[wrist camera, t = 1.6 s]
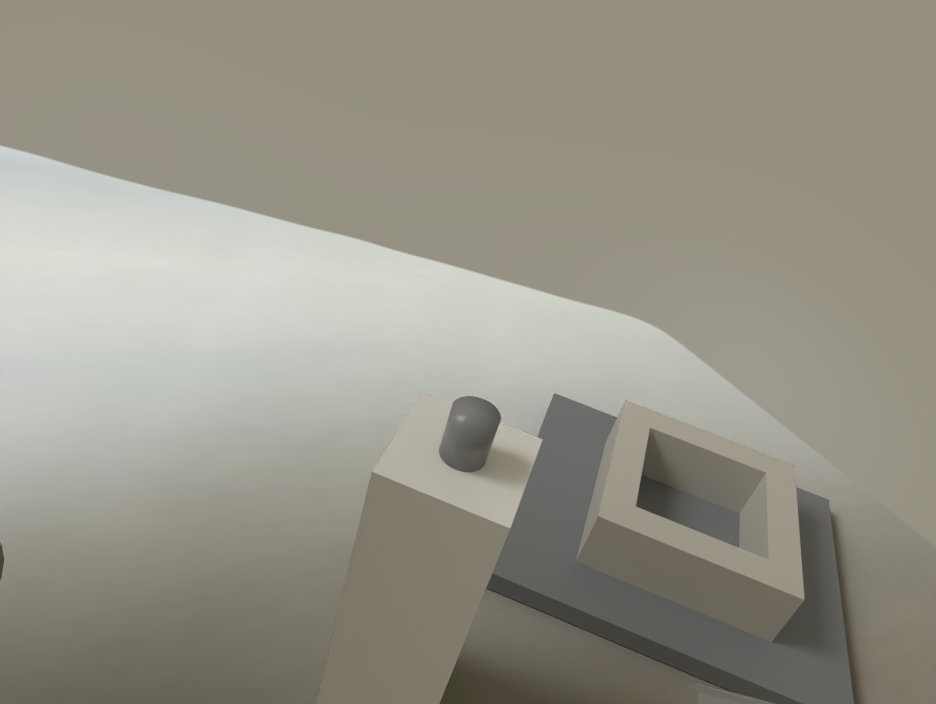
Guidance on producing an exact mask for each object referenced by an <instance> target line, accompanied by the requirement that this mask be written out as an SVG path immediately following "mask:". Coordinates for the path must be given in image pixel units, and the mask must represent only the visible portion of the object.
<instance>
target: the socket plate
mask: <svg viewBox="0 0 936 704" xmlns="http://www.w3.org/2000/svg"><path fill="white" fill-rule="evenodd" d="M538 438H541V439H543V440H542V443H541V446H540V448H539V451H538V454H537V457H536V459H535V462H534V465H533V468H532V470H531V473H530V476H529V479H528V481H527V484H526V487H525V490H524V492H523V495H522V498H521V501H520V503H519V506H518V509H517V512H516V514H515V517H514V520H513V523H512V525H511V528H510V531H509V533H508V535H507V538H506V540H505V543H504V545H503V548H502V550H501V553H500V555H499V558H498V560H497V563H496V565H495V568H494V570H493V573H492V575H491V578H490V580H489V582H488V585H487V587H486V588H488V589H490V590H492V591H495V592H497V593H500V594H502V595H504V596H507V597H509V598H511V599H514V600H516V601H518V602H521V603H523V604H526V605H528V606H530V607H533V608H535V609H537V610H540V611H542V612H544V613H547V614H549V615H552V616H554V617H556V618H559V619H561V620H563V621H566V622H568V623H571V624H573V625H575V626H578V627H580V628H582V629H585V630H587V631H589V632H592V633H594V634H597V635H599V636H601V637H604V638H606V639H608V640H611V641H613V642H615V643H618V644H620V645H623V646H625V647H627V648H630V649H632V650H634V651H637V652H639V653H642V654H644V655H646V656H649V657H651V658H653V659H656V660H658V661H660V662H663V663H665V664H668V665H670V666H672V667H675V668H677V669H679V670H682V671H684V672H687V673H689V674H691V675H694V676H696V677H698V678H701V679H703V680H705V681H708V682H710V683H713V684H715V685H717V686H720V687H722V688H724V689H727V690H729V691H731V692H734V693H737V694H741V695H745V696H748V697H752V698H756V699H760V700H764V701H768V702H772V703H776V704H854V699H853V691H852V683H851V675H850V667H849V659H848V651H847V643H846V635H845V627H844V619H843V611H842V603H841V595H840V587H839V579H838V571H837V563H836V555H835V547H834V539H833V531H832V523H831V515H830V507H829V500H827V499H825V498H822V497H820V496H817V495H815V494H812V493H809V492H807V491H804V490H802V489H799V488H797V487H796V479H795V466H794V465H792V464H790V463H787V462H785V461H782V460H779V459H777V458H774V457H772V456H769V455H766V454H764V453H761V452H759V451H756V450H753V449H751V448H748V447H746V446H743V445H740V444H738V443H735V442H733V441H730V440H728V439H725V438H722V437H720V436H717V435H715V434H712V433H709V432H707V431H704V430H702V429H699V428H696V427H694V426H691V425H689V424H686V423H683V422H681V421H678V420H676V419H673V418H670V417H668V416H665V415H663V414H660V413H658V412H655V411H652V410H650V409H647V408H645V407H642V406H639V405H637V404H634V403H632V402H629V401H626V400H625V402H624V404H623V406H622V408H621V411H620V413H619V415H618V417H614V416H611V415H609V414H606V413H604V412H601V411H599V410H596V409H593V408H591V407H588V406H586V405H583V404H581V403H578V402H575V401H573V400H570V399H568V398H565V397H563V396H560V395H557V394H555V393H554V395H553V398H552V400H551V403H550V405H549V408H548V411H547V413H546V416H545V419H544V421H543V424H542V427H541V429H540V432H539V435H538Z"/></svg>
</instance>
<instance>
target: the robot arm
mask: <svg viewBox="0 0 936 704" xmlns="http://www.w3.org/2000/svg"><path fill="white" fill-rule="evenodd" d="M3 564H4V556H3V550H2V545H1V543H0V580H1V577H2V570H3ZM677 704H776V703H772V702H768V701H764V700H760V699H756V698H752V697H748V696H745V695H741V694H737V693H733V692H729V691H725V690H721V689H717V688H713V687H710V686H706V685H702V684H698V683H694V682H691V683H690V684H688V685H687V686H686V687H685V688H684V690H683V692H682V694H681V696H680V698H679V700H678V702H677Z"/></svg>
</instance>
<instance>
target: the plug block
mask: <svg viewBox="0 0 936 704" xmlns="http://www.w3.org/2000/svg"><path fill="white" fill-rule="evenodd" d="M500 420H501V416H500V413H499V411H498V409H497V408H496V407H495V406H494V405H493V404H491V403H490V402H488V401H486V400H484V399H482V398H478V397H472V396H466V397H461V398H459V399H457V400H455V401H454V403H453V404H452V403H450V402H447V401H445V400H442V399H440V398H437V397H435V396H432V395H430V394H427V393H425V392H422V393H421V394H420V396H419V397H418V399H417V401H416V402H415V404H414V405H413V407H412V409H411V410H410V412H409V413H408V415H407V416H406V418H405V420H404V421H403V423H402V424H401V426H400V428H399V429H398V431H397V432H396V434H395V436H394V437H393V439H392V440H391V442H390V444H389V445H388V447H387V448H386V450H385V451H384V453H383V455H382V456H381V458H380V459H379V461H378V463H377V464H376V466H375V467H374V469H373V471H372V473H371V477H370V481H369V486H368V490H367V494H366V498H365V502H364V507H363V511H362V515H361V519H360V523H359V527H358V532H357V536H356V540H355V544H354V548H353V552H352V557H351V561H350V565H349V569H348V573H347V577H346V582H345V586H344V590H343V594H342V598H341V602H340V607H339V611H338V615H337V619H336V623H335V627H334V632H333V636H332V640H331V644H330V648H329V652H328V657H327V661H326V665H325V669H324V673H323V677H322V682H321V686H320V690H319V694H318V698H317V702H316V704H440V701H441V699H442V696H443V694H444V691H445V689H446V686H447V684H448V681H449V679H450V676H451V674H452V671H453V669H454V667H455V664H456V662H457V659H458V657H459V654H460V652H461V649H462V647H463V644H464V642H465V639H466V637H467V634H468V632H469V629H470V627H471V624H472V622H473V620H474V617H475V615H476V612H477V610H478V607H479V605H480V602H481V600H482V597H483V595H484V592H485V590H486V587H487V585H488V582H489V580H490V578H491V575H492V573H493V570H494V568H495V565H496V563H497V560H498V558H499V555H500V553H501V550H502V548H503V545H504V543H505V540H506V538H507V535H508V533H509V531H510V528H511V525H512V523H513V520H514V517H515V514H516V512H517V509H518V506H519V503H520V501H521V498H522V495H523V492H524V490H525V487H526V484H527V481H528V479H529V476H530V473H531V470H532V468H533V465H534V462H535V459H536V457H537V454H538V451H539V448H540V446H541V443H542V440H543V439H541V438H538V437H536V436H533V435H531V434H528V433H525V432H523V431H520V430H518V429H515V428H513V427H510V426H508V425H505V424H503V423H500Z"/></svg>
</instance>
